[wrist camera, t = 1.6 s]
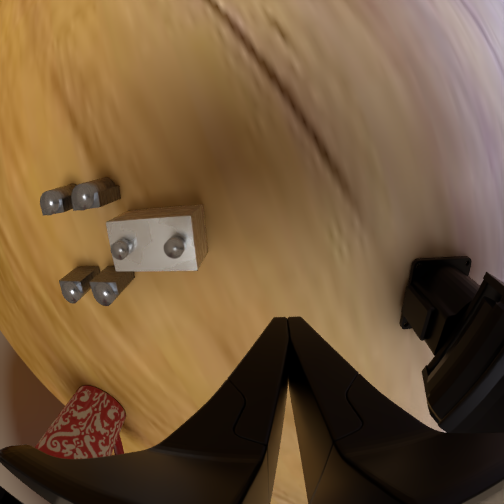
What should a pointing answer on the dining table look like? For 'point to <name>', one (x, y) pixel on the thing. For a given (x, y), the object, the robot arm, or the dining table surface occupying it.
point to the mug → (85, 427)
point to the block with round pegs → (159, 239)
